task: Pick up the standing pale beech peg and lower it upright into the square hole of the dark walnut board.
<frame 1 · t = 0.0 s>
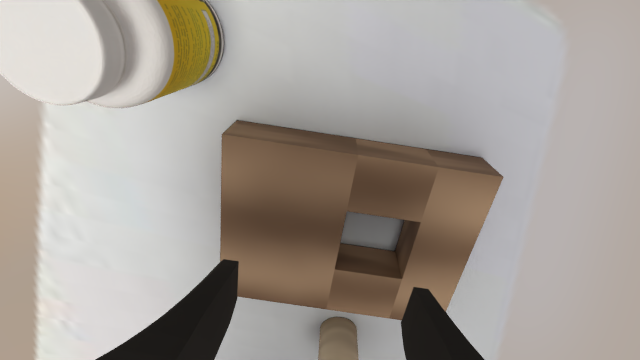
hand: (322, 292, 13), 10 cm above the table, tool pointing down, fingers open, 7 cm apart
beech peg: (338, 330, 28), on the table
supplement bottle: (181, 35, 19), on the table
walnut socket board: (344, 217, 24), on the table
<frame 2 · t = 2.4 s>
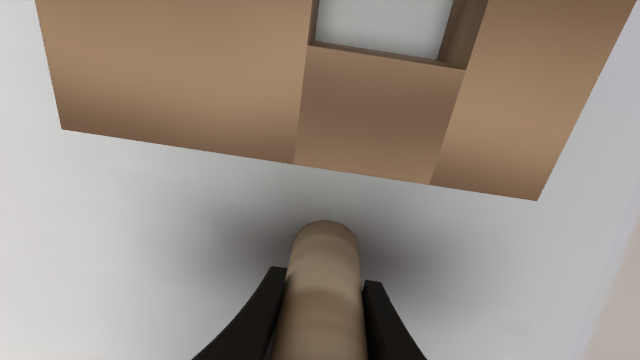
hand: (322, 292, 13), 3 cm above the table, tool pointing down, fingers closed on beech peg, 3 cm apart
beech peg: (325, 248, 16), on the table, touching gripper
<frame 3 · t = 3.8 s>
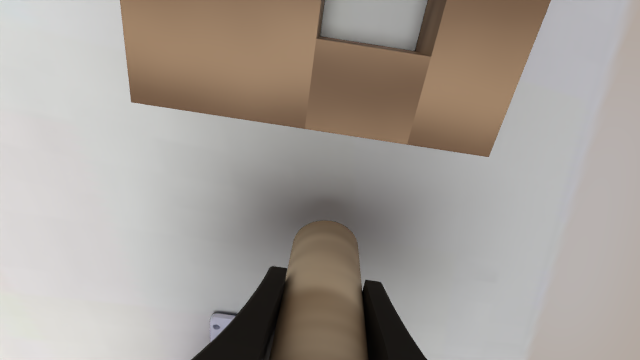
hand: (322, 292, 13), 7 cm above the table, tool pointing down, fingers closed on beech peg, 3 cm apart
beech peg: (325, 248, 16), point 4 cm above the table, touching gripper
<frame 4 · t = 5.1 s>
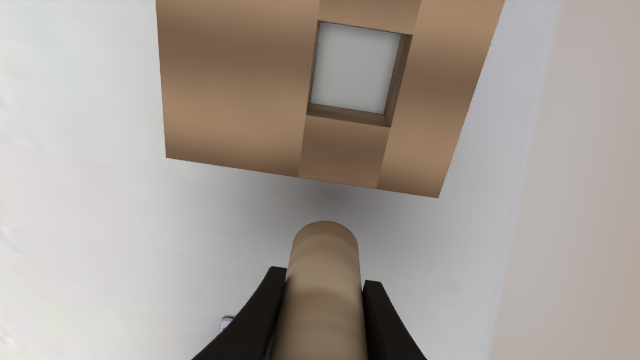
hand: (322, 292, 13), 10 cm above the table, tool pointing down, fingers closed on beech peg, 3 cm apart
beech peg: (325, 248, 16), point 7 cm above the table, touching gripper
walnut socket board: (320, 65, 19), on the table
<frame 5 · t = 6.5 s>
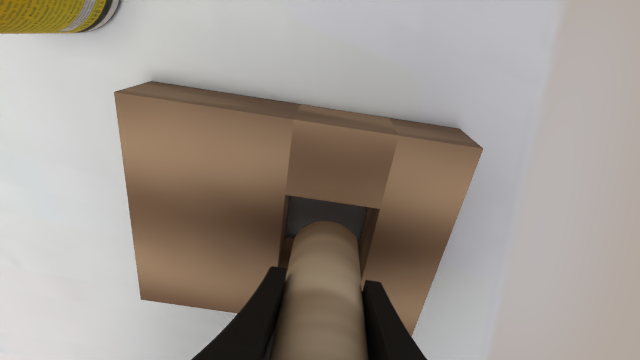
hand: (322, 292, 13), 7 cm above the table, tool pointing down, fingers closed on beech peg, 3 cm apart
beech peg: (325, 248, 16), point 4 cm above the table, touching gripper
walnut socket board: (293, 205, 19), on the table
when the fingers open (4 cm above the table, at t = 7.8 s): beech peg drops 1 cm, resting in walnut socket board.
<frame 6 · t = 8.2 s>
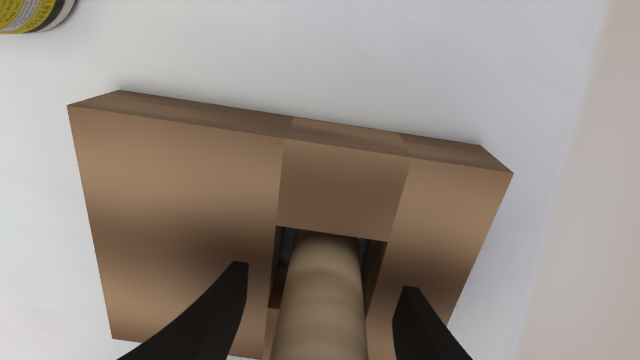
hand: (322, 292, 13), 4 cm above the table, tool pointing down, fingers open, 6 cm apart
beech peg: (326, 236, 17), resting in walnut socket board
walnut socket board: (287, 231, 17), on the table
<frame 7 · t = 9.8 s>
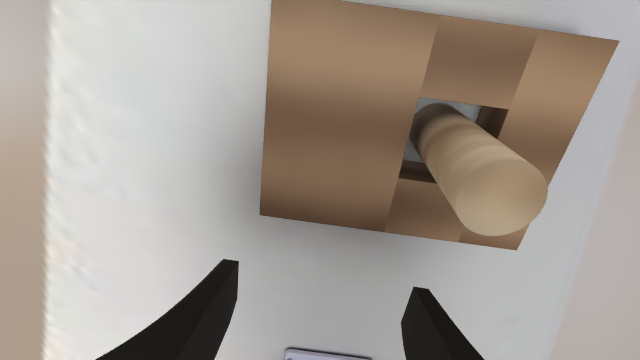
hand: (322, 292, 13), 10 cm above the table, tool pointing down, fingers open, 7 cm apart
beech peg: (435, 129, 20), resting in walnut socket board
walnut socket board: (403, 124, 20), on the table
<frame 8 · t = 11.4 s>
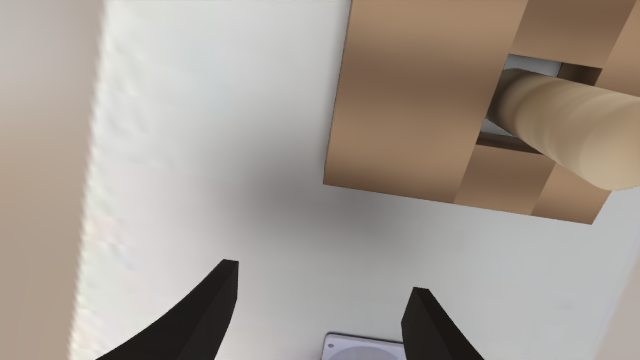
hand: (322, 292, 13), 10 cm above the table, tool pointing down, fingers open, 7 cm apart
beech peg: (507, 96, 19), resting in walnut socket board
walnut socket board: (474, 91, 19), on the table
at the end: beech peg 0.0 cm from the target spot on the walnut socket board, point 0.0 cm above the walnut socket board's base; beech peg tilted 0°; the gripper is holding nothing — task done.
